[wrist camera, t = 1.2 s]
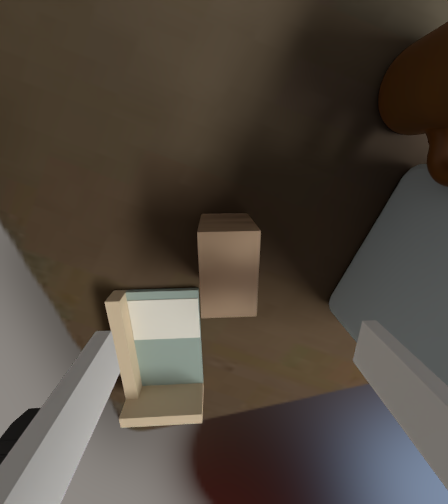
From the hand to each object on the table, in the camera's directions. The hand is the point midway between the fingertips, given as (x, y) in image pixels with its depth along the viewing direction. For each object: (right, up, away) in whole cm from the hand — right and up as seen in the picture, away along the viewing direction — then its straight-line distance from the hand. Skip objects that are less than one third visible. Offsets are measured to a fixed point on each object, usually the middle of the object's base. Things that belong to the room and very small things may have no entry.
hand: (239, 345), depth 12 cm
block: (-1, +5, +14) cm, 15 cm away
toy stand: (-9, -7, +18) cm, 22 cm away
